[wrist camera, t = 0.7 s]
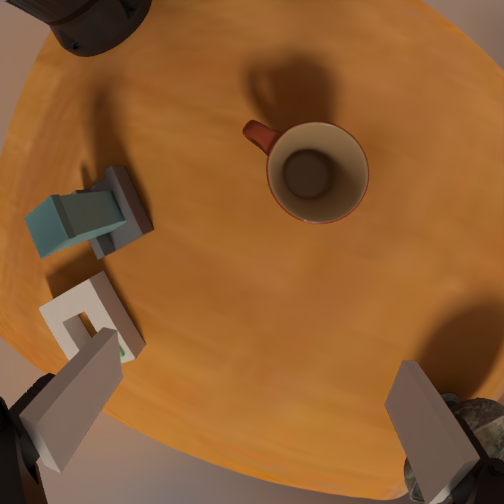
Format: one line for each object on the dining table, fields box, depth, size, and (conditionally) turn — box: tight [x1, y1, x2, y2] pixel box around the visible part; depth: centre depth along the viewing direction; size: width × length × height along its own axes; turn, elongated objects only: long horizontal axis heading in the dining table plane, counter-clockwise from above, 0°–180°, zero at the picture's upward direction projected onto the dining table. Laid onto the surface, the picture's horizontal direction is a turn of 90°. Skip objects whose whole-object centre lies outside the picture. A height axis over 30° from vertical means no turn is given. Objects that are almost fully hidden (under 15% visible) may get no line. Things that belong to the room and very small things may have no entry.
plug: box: [24, 190, 126, 259], centre depth 29 cm, size 4×4×14 cm
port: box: [39, 270, 146, 364], centre depth 38 cm, size 12×12×5 cm
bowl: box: [404, 393, 504, 503], centre depth 34 cm, size 20×19×15 cm
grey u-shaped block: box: [71, 165, 154, 260], centre depth 34 cm, size 9×7×4 cm
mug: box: [243, 120, 369, 224], centre depth 29 cm, size 12×9×10 cm
